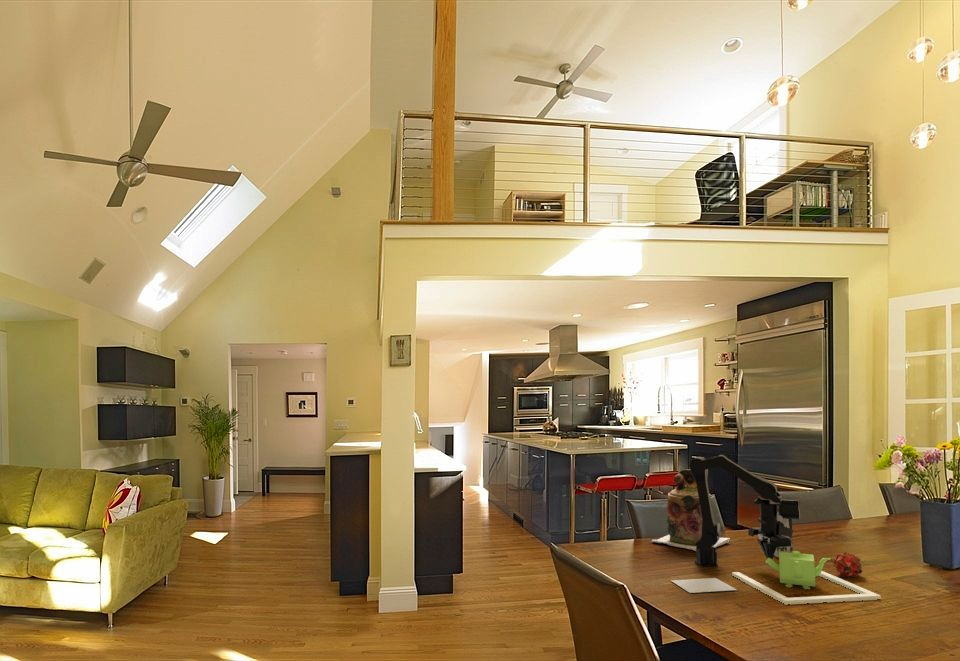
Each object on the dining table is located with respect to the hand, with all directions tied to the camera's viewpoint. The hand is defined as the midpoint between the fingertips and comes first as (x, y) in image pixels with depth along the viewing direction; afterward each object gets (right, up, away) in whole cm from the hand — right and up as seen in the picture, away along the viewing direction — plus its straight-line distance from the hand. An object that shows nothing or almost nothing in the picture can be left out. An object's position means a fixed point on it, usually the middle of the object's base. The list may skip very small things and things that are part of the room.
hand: (769, 561), depth 240 cm
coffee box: (+15, -6, +23) cm, 28 cm away
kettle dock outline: (+3, -2, -18) cm, 18 cm away
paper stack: (-33, -3, -22) cm, 40 cm away
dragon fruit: (+25, -4, -6) cm, 26 cm away
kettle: (+2, -3, -17) cm, 17 cm away
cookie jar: (-15, -8, +43) cm, 46 cm away
